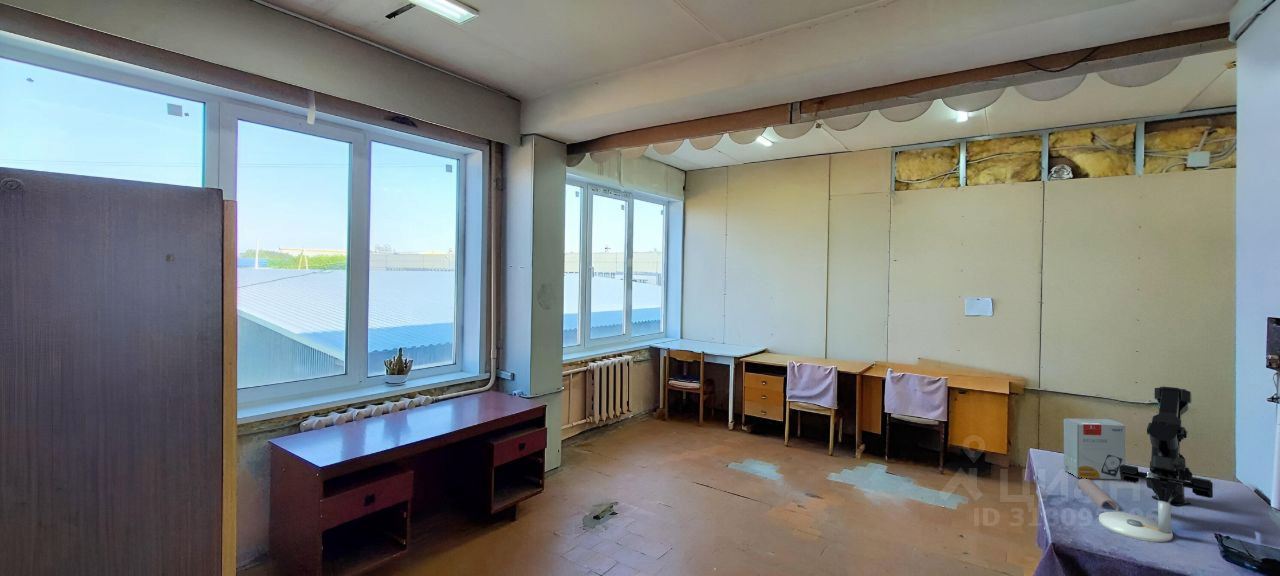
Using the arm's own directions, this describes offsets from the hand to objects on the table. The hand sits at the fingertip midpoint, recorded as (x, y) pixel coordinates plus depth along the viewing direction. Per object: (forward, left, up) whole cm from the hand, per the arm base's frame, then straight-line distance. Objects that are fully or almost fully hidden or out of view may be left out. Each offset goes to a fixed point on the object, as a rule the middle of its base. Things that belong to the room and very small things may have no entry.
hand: (1163, 507), depth 143 cm
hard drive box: (-23, -36, -7) cm, 43 cm away
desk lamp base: (+8, -2, -6) cm, 10 cm away
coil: (-3, -19, -8) cm, 21 cm away
